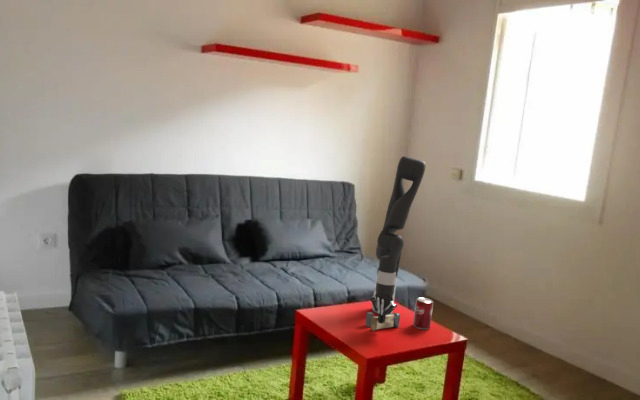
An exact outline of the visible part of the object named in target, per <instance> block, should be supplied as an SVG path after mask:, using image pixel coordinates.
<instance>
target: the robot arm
mask: <svg viewBox="0 0 640 400" xmlns="http://www.w3.org/2000/svg"><path fill="white" fill-rule="evenodd" d="M397 164H398V165H397V167H396V172H395V178H394V185H393V189H392V192H391V195H390V200H389V203H388V206H387V210H386V214H385V218H384V221H383V226H382V229H381V231H380V233H379V235H378V236H377V241H376V242H377V244H376V249H375V256H376V258H377V260H379V263H378V268H377V269H376V270H377V271H376V278H375V279H376V280H375V286H374V287H375V288H374V290H373V296H371V297H370V301H371V304H372V307H371V309H372V312H373V313H376V314H378V315H377V317H378V322H379V323H384V322H385V317H386V315H392V314H393V313H394V310H395V309H396V308H397V306H398V305H397V304H396V303H395V297H396V289H397V280H398V272H399V270H400V269H399V268H400V262H401V258H402V257H401V256H402V250H403V248H404V238H403V237H402V236H401V235H398V234H395V233H396V232H397V231H398V230H399V231H401V230H403V229H404V228H405V225H406V222H407V221H408V217H409V214H410V210H411V206H412V204H413V202H414V199H416V198H415V197H416V196H417V193H418V190H419V188H420V185H421V184H422V181H423V177H424V175H425V171H426V162H425V161H423V160H421V159H417V158H414V157H409V156H405V155H404V156H401V157H400V159H399V161H398V163H397ZM404 180H406V181H409V182H412V183H411V186H410V187H409V188H408V190H407V191H405V187H404Z"/></svg>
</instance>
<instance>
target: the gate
mask: <svg viewBox="0 0 640 400" xmlns="http://www.w3.org/2000/svg"><path fill="white" fill-rule="evenodd" d="M394 316H395V315H393V313H392V314H389V315H386V317H385V322H384V323H379V322H378V316H375V315H374V316H373V317H372V321H371V327H370V330H371V331H373V332H374V331H377V330H381V329H387V328H394V327H393V324H394Z"/></svg>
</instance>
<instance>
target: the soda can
mask: <svg viewBox="0 0 640 400" xmlns="http://www.w3.org/2000/svg"><path fill="white" fill-rule="evenodd" d="M414 307H415V309H414V316H413V321H412V323H413V326H414V328H416V329H419V330H424V331H425V330H428V329H430V328H431V323H432V316H433V315H432V314H433V308H434V301H433V300H432V299H430V298H427V297H417V299H416V300H415V306H414Z"/></svg>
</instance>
